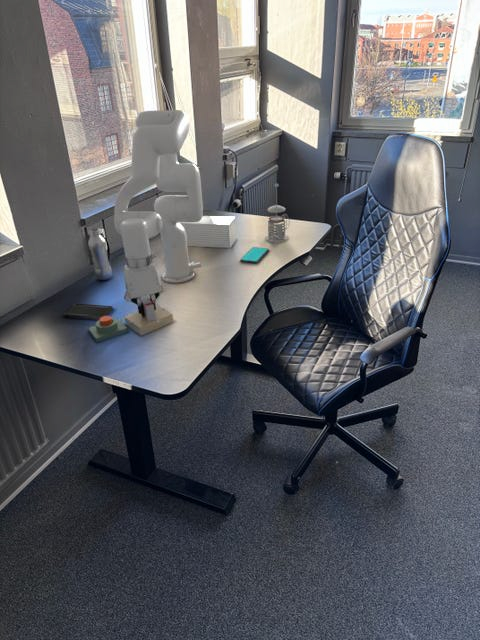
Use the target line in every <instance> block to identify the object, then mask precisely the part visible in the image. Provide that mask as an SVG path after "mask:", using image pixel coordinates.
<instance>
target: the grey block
mask: <svg viewBox="0 0 480 640" xmlns="http://www.w3.org/2000/svg"><path fill="white" fill-rule="evenodd" d="M141 303H142V305H143V307H144V313H145V318H146V319H147V321H148V322H150V321H154V320H156V317H155V310H154V305H153V303H152V302H151V300H150V296H149V295H146V296H142V297H141Z"/></svg>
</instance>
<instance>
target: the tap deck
mask: <svg viewBox="0 0 480 640" xmlns="http://www.w3.org/2000/svg"><path fill="white" fill-rule="evenodd" d="M155 305H156V310H155V317H156V320H154V321H150V322H148V321H147V319H146V318H145V317H143V316H142V315H141V314H139V312H138V307H137V308H136V309H137V310H136V311H134V312H131V313H129V314H127V315H124V316H123V317H124V323H125V324H124V325H125V326H126V327H128V328H130V329H131V330H132V331H134V332H136V333H137V334H138V335H139V336H141V337H142V336H144V335H145V334H148V333H150V332H153V331H155V330H158V329H160V328H163V327H165V326H167V325H169V324H171V323H174V317H173V313H172V312H170V311H168V310H167V309H166V307H163V306H162V307H161V306H160V305H158V304H157V303H155Z"/></svg>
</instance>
